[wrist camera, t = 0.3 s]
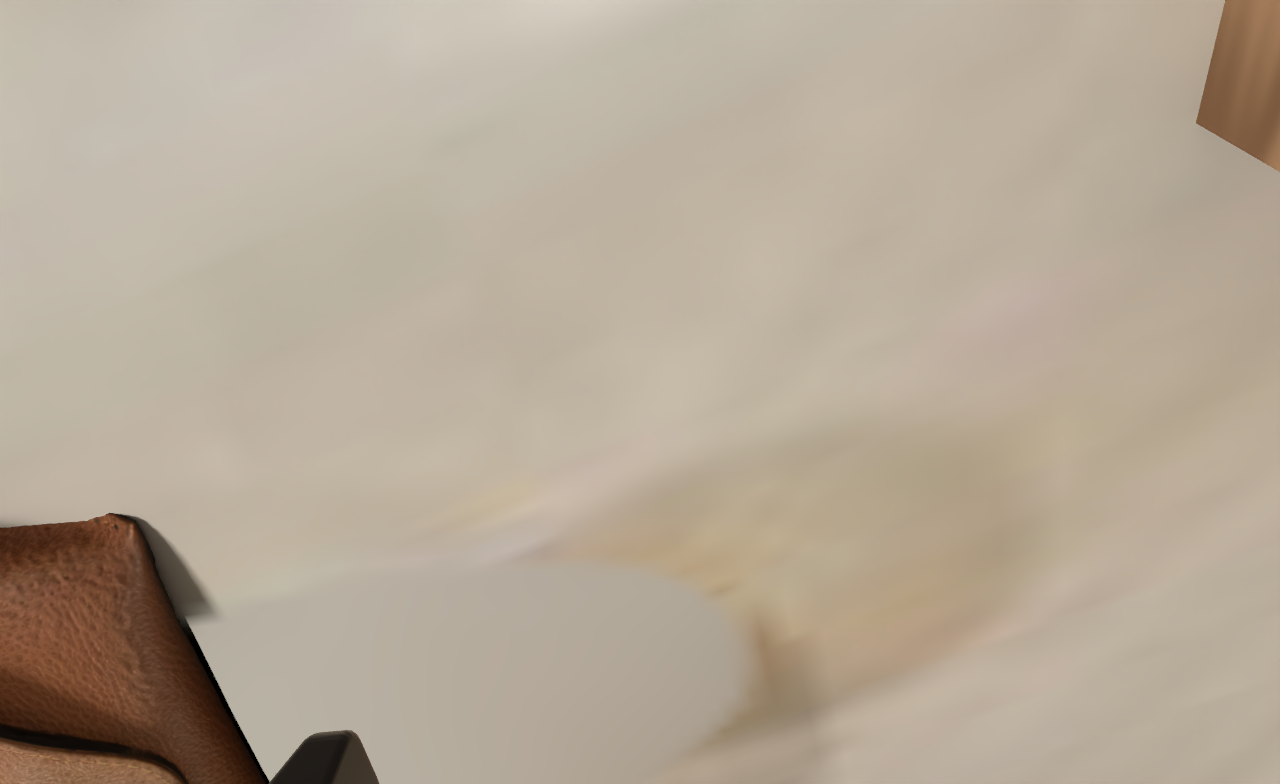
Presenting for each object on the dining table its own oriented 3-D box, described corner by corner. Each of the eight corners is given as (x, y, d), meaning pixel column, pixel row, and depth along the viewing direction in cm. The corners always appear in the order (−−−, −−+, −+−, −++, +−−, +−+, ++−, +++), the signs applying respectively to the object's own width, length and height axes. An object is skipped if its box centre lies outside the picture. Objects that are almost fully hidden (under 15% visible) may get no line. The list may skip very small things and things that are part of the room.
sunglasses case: (354, 902, 35) (191, 1080, 30) (245, 824, 39) (88, 971, 34) (129, 498, 26) (-142, 664, 22) (21, 454, 30) (-225, 586, 26)
